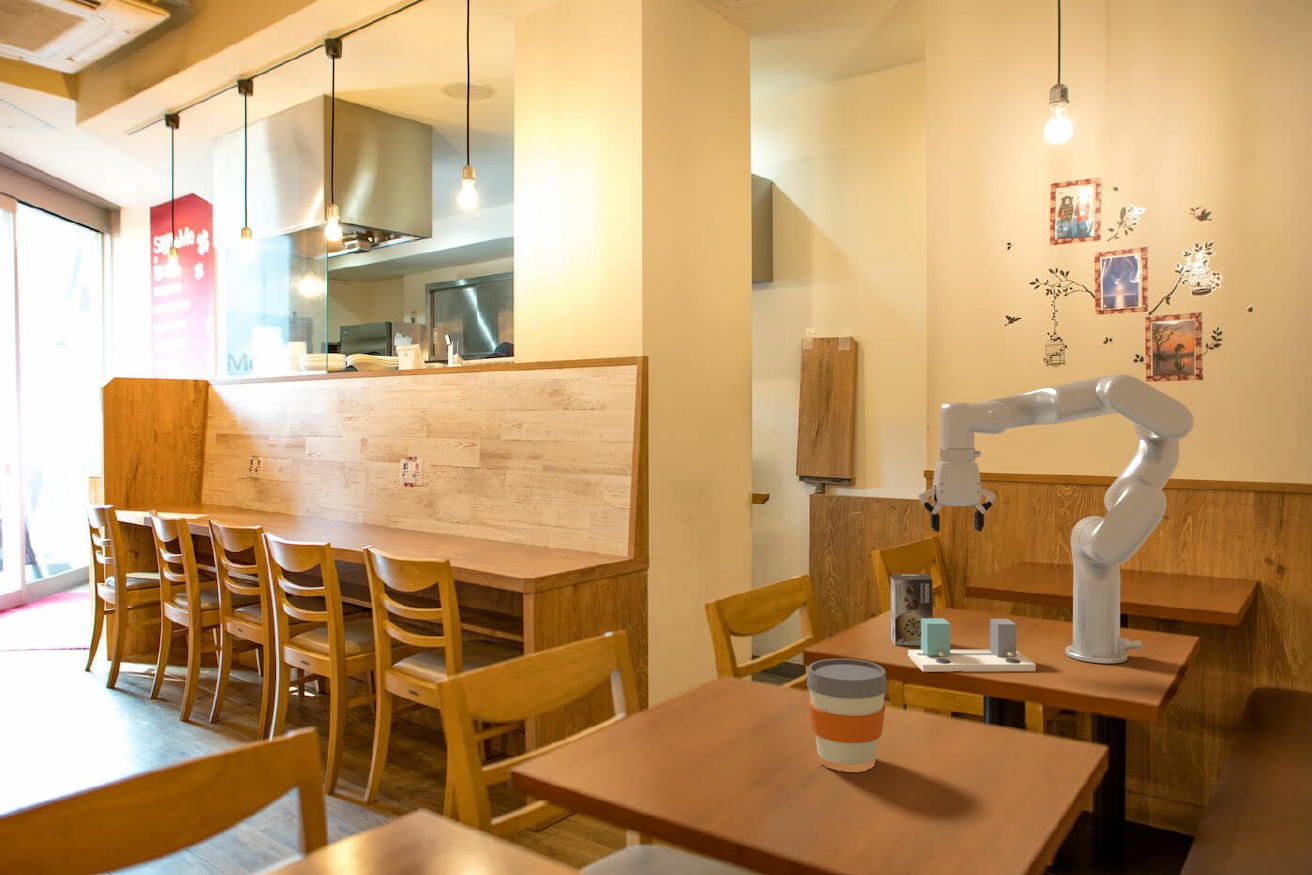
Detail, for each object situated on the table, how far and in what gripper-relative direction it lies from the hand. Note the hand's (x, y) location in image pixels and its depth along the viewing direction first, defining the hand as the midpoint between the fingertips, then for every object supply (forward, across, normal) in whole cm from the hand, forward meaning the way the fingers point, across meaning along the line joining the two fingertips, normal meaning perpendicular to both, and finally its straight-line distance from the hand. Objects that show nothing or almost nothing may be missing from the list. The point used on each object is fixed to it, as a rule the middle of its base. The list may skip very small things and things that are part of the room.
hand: (957, 530), depth 207 cm
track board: (+28, 0, +9) cm, 30 cm away
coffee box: (+28, +8, -9) cm, 31 cm away
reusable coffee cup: (+28, +38, +64) cm, 80 cm away
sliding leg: (+26, +7, +8) cm, 28 cm away
